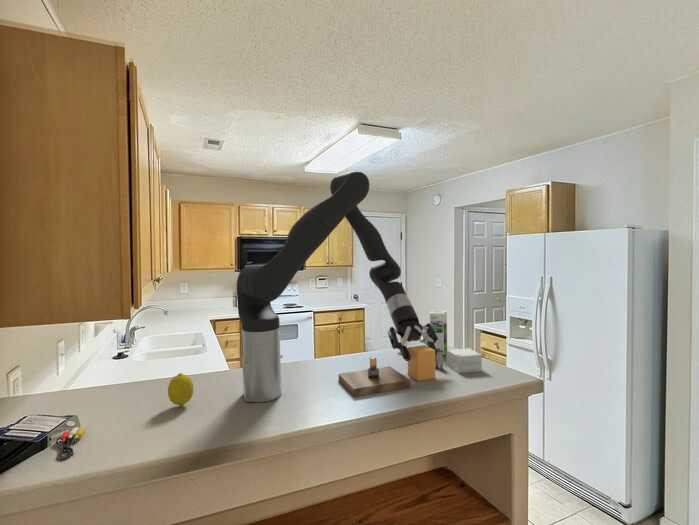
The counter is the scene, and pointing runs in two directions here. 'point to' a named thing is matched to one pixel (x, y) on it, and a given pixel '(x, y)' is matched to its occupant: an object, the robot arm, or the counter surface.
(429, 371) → the orange rectangular block
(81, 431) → the composite cable
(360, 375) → the board
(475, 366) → the small box
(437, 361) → the caliper
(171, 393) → the lemon
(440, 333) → the syrup box
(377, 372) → the grey and tan knob
